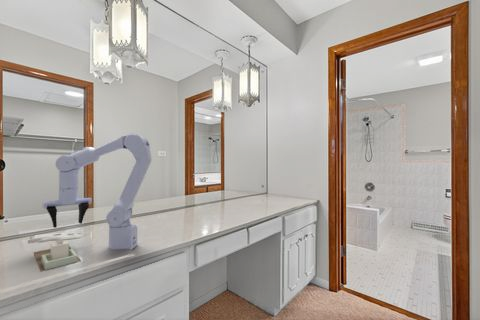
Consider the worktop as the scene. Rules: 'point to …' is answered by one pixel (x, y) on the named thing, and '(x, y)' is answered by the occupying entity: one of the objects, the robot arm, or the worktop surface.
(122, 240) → the robot arm
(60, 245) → the plug
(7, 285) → the worktop surface
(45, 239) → the gun
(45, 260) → the holder
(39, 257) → the board
